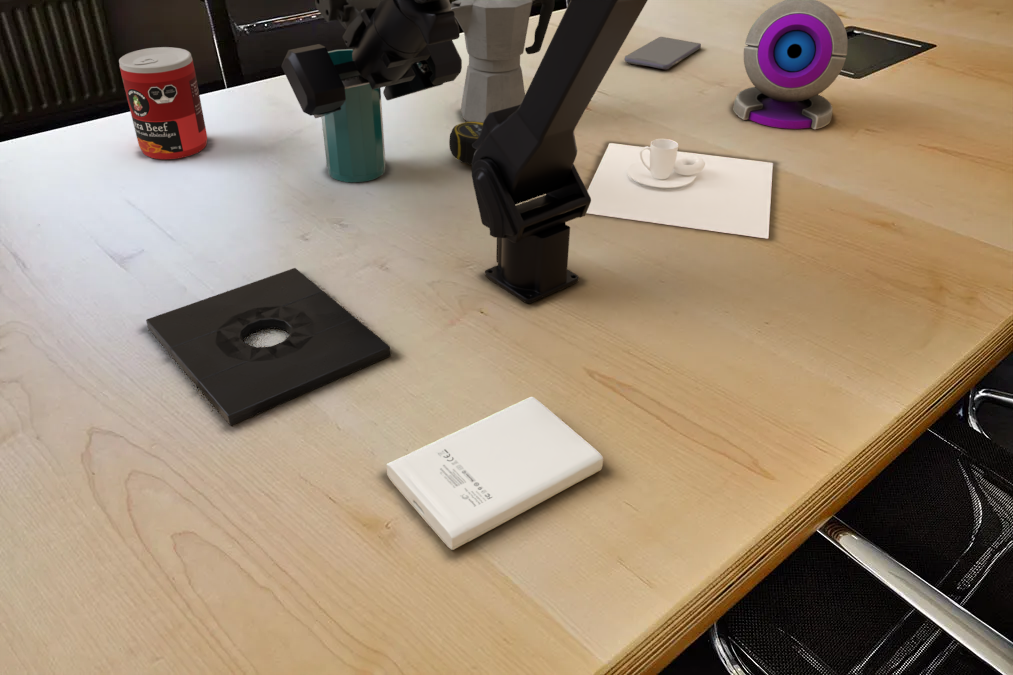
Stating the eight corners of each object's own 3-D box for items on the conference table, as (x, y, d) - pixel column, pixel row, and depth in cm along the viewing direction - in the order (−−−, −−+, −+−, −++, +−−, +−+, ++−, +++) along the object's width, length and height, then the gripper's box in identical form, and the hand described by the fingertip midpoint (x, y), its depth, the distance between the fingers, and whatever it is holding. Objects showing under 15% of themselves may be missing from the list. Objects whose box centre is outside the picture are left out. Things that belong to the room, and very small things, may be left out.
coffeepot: (468, 135, 109) (467, -14, 98) (434, 112, 115) (429, -30, 105) (567, 115, 115) (576, -27, 105) (530, 93, 122) (535, -42, 112)
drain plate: (391, 356, 70) (390, 346, 70) (230, 426, 63) (228, 415, 62) (296, 276, 80) (295, 267, 79) (148, 329, 73) (145, 319, 72)
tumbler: (396, 172, 99) (390, 60, 92) (346, 187, 96) (335, 72, 88) (366, 154, 103) (357, 45, 96) (317, 168, 100) (303, 56, 92)
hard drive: (602, 473, 59) (452, 553, 53) (530, 410, 65) (386, 477, 59) (604, 455, 59) (452, 535, 52) (531, 393, 64) (385, 459, 58)
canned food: (126, 152, 103) (103, 60, 96) (176, 131, 108) (157, 42, 102) (173, 165, 100) (152, 71, 93) (222, 142, 106) (205, 52, 99)
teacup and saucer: (704, 168, 102) (710, 135, 99) (698, 196, 95) (704, 162, 93) (631, 159, 104) (635, 126, 101) (620, 186, 97) (624, 152, 95)
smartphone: (703, 43, 141) (667, 65, 130) (702, 49, 141) (667, 71, 130) (660, 35, 144) (622, 56, 133) (659, 41, 144) (621, 63, 134)
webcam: (728, 122, 114) (748, 5, 106) (738, 92, 124) (758, -17, 115) (829, 136, 111) (859, 16, 102) (832, 104, 121) (859, -8, 112)
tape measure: (514, 167, 101) (515, 137, 99) (458, 173, 99) (457, 143, 97) (496, 145, 106) (497, 116, 104) (443, 151, 105) (442, 121, 102)
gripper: (444, -60, 87) (390, 26, 100) (277, -37, 77) (241, 55, 90) (491, 38, 87) (431, 111, 100) (330, 73, 77) (286, 149, 90)
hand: (351, 104), depth 95 cm, fingers open, 9 cm apart
